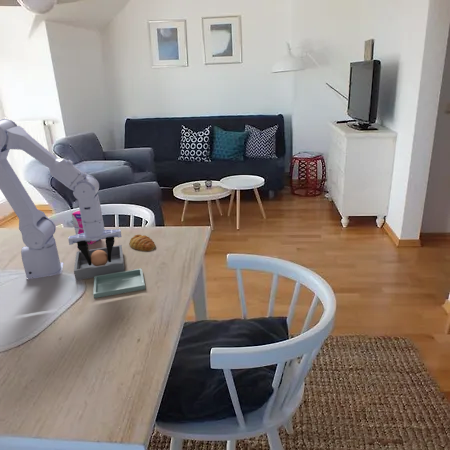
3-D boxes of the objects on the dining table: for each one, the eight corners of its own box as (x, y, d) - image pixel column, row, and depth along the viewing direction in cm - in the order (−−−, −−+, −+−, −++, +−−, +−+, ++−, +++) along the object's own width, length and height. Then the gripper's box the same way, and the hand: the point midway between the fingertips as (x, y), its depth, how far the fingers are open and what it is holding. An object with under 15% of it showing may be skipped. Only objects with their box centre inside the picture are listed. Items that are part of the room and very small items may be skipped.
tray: (94, 300, 105) (93, 294, 105) (95, 281, 114) (94, 276, 114) (145, 290, 108) (144, 285, 108) (142, 273, 117) (141, 268, 117)
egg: (91, 271, 119) (88, 255, 118) (92, 263, 124) (89, 248, 122) (109, 268, 120) (106, 252, 119) (109, 261, 125) (106, 246, 123)
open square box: (76, 282, 115) (73, 271, 114) (78, 261, 127) (76, 251, 126) (125, 274, 118) (123, 263, 117) (123, 255, 130) (121, 244, 129)
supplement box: (77, 244, 140) (70, 213, 135) (87, 237, 145) (81, 207, 141) (91, 246, 138) (85, 214, 134) (101, 239, 143) (96, 208, 139)
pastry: (161, 248, 134) (160, 238, 132) (144, 256, 129) (142, 245, 128) (144, 241, 140) (142, 231, 138) (127, 248, 135) (125, 237, 134)
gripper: (64, 227, 111) (73, 272, 116) (118, 220, 115) (125, 264, 120) (66, 219, 118) (75, 261, 123) (118, 212, 121) (124, 254, 126)
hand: (100, 262), depth 122 cm, fingers closed on egg, 5 cm apart
